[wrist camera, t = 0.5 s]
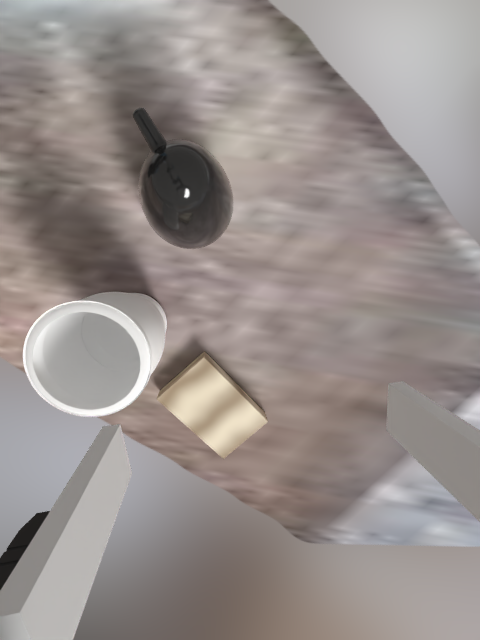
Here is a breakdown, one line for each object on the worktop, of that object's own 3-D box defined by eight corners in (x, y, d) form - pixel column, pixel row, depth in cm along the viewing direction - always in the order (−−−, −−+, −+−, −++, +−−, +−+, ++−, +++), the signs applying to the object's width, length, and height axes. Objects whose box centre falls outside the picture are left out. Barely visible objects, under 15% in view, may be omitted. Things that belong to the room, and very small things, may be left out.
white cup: (110, 273, 35) (38, 281, 20) (185, 300, 37) (167, 326, 22) (88, 344, 37) (7, 399, 22) (160, 367, 39) (129, 432, 24)
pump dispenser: (200, 148, 33) (192, 56, 18) (245, 223, 35) (269, 195, 21) (133, 194, 33) (71, 140, 19) (182, 264, 36) (161, 267, 21)
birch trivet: (159, 390, 39) (156, 399, 37) (204, 351, 39) (204, 357, 36) (222, 447, 42) (223, 458, 40) (264, 412, 42) (268, 421, 39)
